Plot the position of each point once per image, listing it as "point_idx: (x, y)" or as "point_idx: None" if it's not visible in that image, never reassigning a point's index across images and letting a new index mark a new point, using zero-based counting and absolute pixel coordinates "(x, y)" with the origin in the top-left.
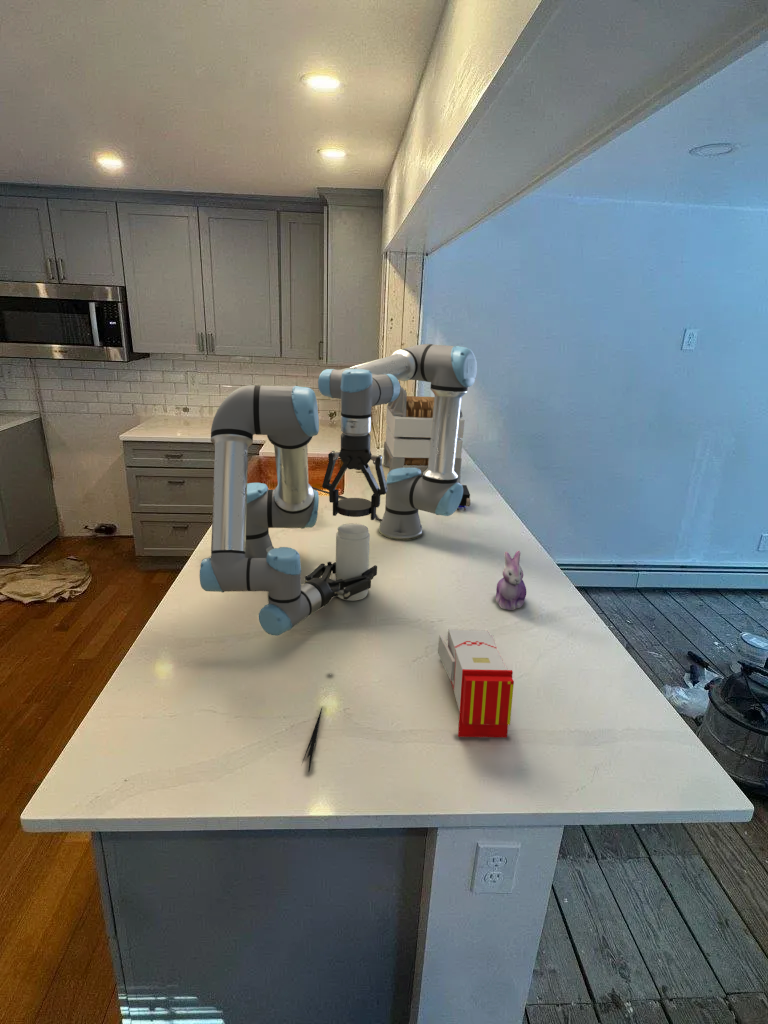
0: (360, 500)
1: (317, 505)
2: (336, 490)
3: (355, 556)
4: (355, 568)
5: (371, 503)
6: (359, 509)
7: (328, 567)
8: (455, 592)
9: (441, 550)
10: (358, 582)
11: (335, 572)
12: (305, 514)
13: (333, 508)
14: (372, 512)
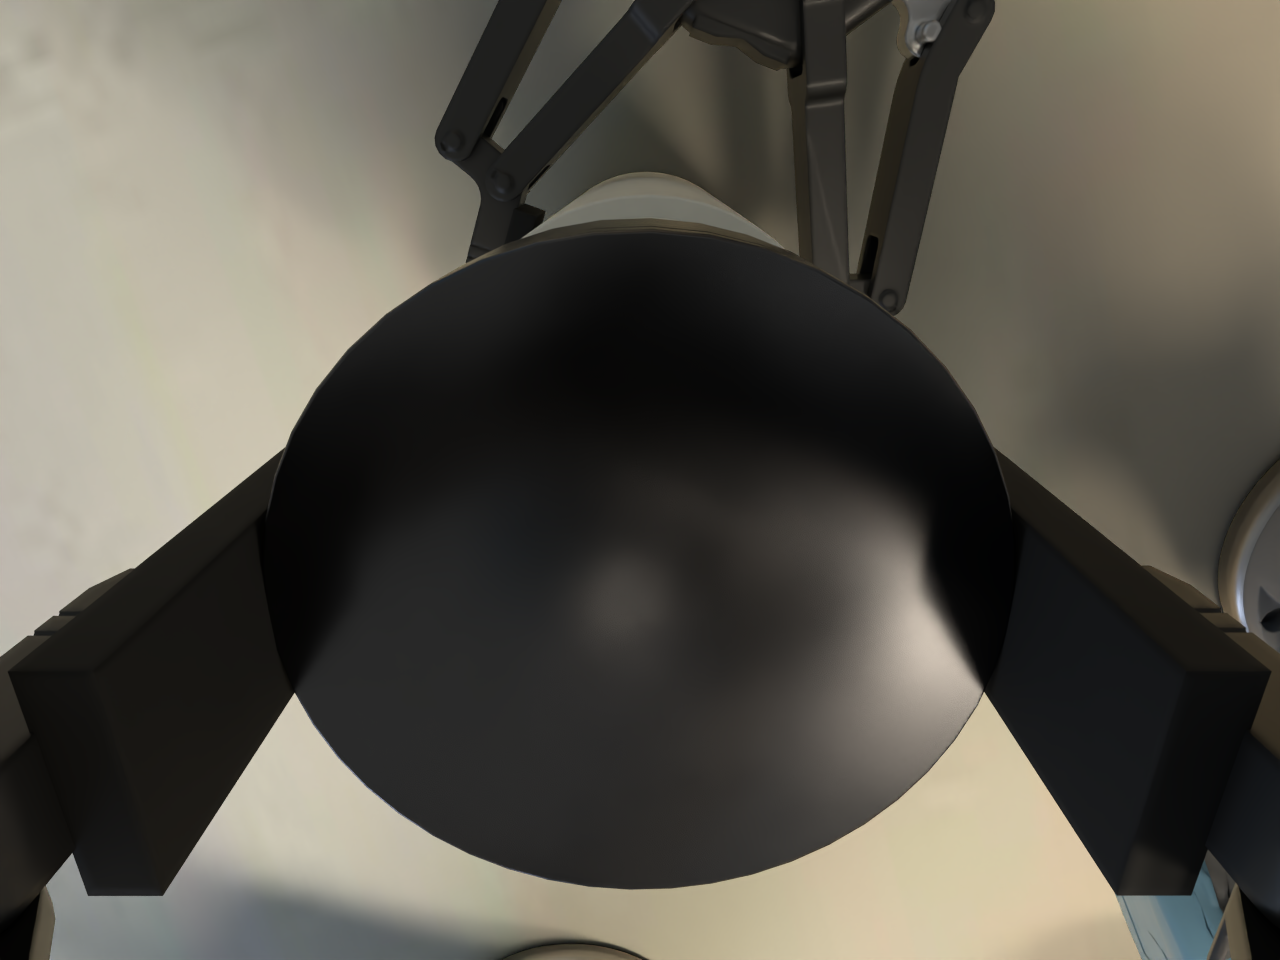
0: (582, 797)
1: (1178, 915)
2: (1168, 819)
3: (574, 202)
4: (581, 196)
5: (201, 568)
6: (430, 328)
7: (830, 255)
8: (60, 469)
9: (311, 895)
10: (514, 40)
11: None
12: None
13: (1019, 480)
14: (263, 480)
